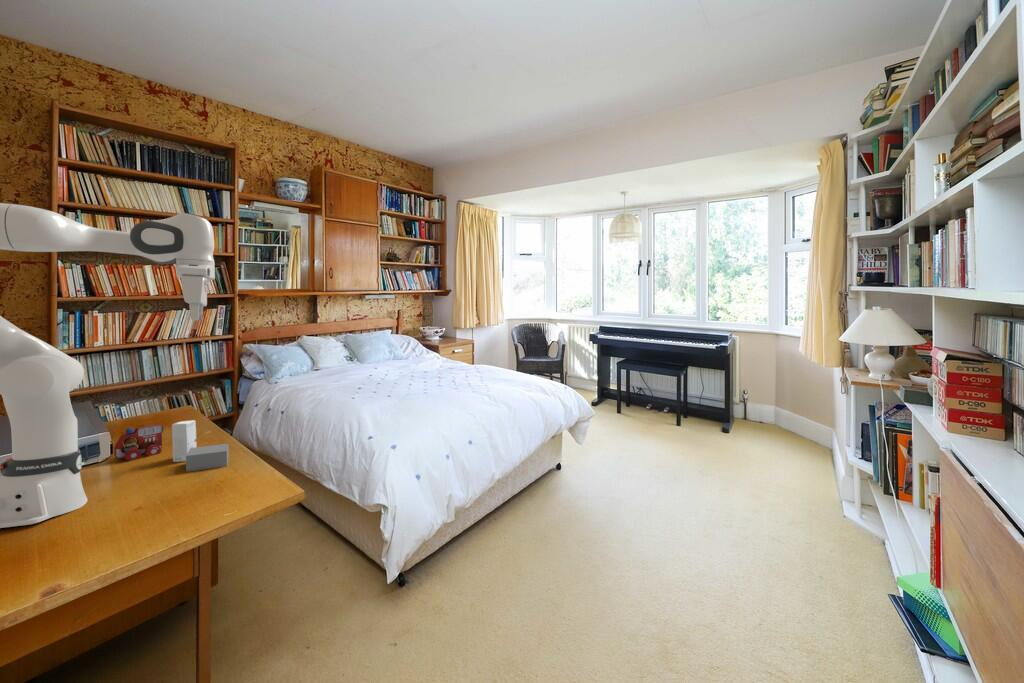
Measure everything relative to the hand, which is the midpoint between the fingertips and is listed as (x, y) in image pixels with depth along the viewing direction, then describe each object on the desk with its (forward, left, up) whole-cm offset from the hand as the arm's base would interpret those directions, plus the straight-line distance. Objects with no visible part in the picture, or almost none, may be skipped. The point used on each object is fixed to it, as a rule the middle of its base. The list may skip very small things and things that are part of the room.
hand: (196, 320), depth 121 cm
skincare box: (-6, +22, -45) cm, 50 cm away
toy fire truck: (-19, +32, -45) cm, 58 cm away
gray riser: (+1, +11, -45) cm, 46 cm away
